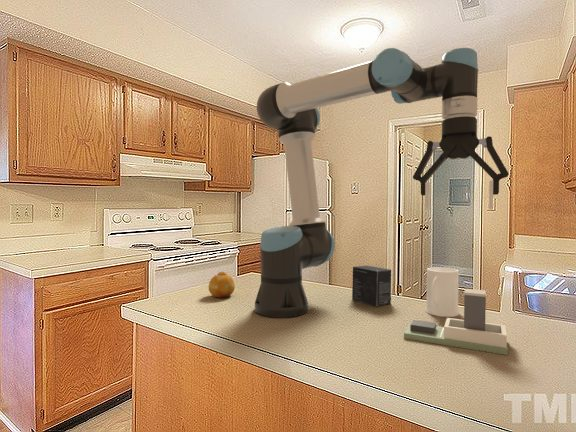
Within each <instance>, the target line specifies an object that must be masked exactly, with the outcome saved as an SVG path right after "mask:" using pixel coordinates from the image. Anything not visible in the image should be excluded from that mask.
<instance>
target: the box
mask: <svg viewBox="0 0 576 432" xmlns="http://www.w3.org/2000/svg"><path fill="white" fill-rule="evenodd" d="M351 293H352V294H351V297H352V300H353V301H357V302H360V303H363V304H367V305H371V306H374V307H380V306H381V307H382V306H384V305H389V304H391V303H392V299H391V297H392V269H390V268H383V267H377V266H371V265H358V266H353V267H352V292H351Z"/></svg>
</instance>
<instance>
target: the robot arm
mask: <svg viewBox="0 0 576 432" xmlns="http://www.w3.org/2000/svg"><path fill="white" fill-rule="evenodd" d="M478 75H479V65H478V53H477V51H476V50H475V49H474V48H471V47H458V48H453V49H451V50H450V51H449V50H448V51H446V53H444V54H443V56H442V60H441V63H439V64H435V65H433V66H427V67H422V66H420V64H418V63H417V62H415V60H413V59H412V58H411V57H410V55H409V54H408V53H406V52H405V51H402V50H400V49H398V48H395V47H389V48H388V47H387V48H385V49H383V50H381V51H380V52H379V53H378V54H377V55H376V56H375V57H374V59H373V60H370V61H366V62H364V63H359V64H356V65H352V66H350V67H347V68H343V69H339V70H336V71H332V72H330V73H325V74H323V75H322V74H321V75H319V76H315V77H311V78H307V79H305V80H302V81H301V80H300V81H298V82H295V83H291V84H290V83H289V82H285V81H283V82H280V83H277V84H274V85H271V86H269V87H268V88H265V89H264V90H263V91H262V92H261V93H260V95H259V96H258V98H257V102H256V112H257V116H258V118H259V120H260V121H261V122H262V123H263V124H264V125H265V126H267V127H268V128H271V129H274V130H277V133H278V141H279V142H280V143H281V144H283V146H284V154H285V162H286V164H285V165H286V172H287V181H288V190H289V199H290V209H291V215H292V216H291V217H292V220H291V222H290V223H289V224H288V225H283V226H276V227H271V228H267V229H265V230H264V231H263V232H262V233H261V236H260V244H259V247H260V249H259V250H260V285H259V289H258V291H257V294H256V297H255V301H254V312H255V313H256V314H258V315H261V316H263V317H269V318H279V319H280V318H292V317H293V318H294V317H300V316H302V315H304V314H307V312H308V311H309V301H308V297H307V294H306V291H305V288H304V285H303V270H304V269H308V268H311V267H313V268H314V267H319V266H321V265H323V264H325V263H327V262H328V261H330V259H331V258H332V257H333V255H334V252H335V248H336V246H335V245H336V243H335V238H334V236H333V233H331V232H330V231H329V230H328V229H327V224H326V220H324V218H322V217H321V215H320V207H319V199H318V190H317V189H318V187H317V182H316V172H315V171H316V170H315V163H314V154H313V147H312V141H313V140H314V139H315V137H316V131H317V129H318V126H319V125H320V120H321V114H320V110H319V108H322V107H326V106H327V107H328V106H331V105H336V104H340V103H344V102H348V101H352V100H357V99H361V98H365V97H370V96H373V95H378V94H382V93H383V94H384V93H387V92H390V94H391V97H392V99H393V101H394V102H395V103H396V104H400V105H401V104H411V103H416V102H421V101H425V100H430V99H436V98H437V99H438V98H441V104H442V105H441V118H442V121H441V139H440V141H432V140H428V141H427V145H426V150H425V153H424V155H423V157H422V158H421V160H420V162H419V164H418V166H417V168H416V170H415V172H414V174H413V175H412V179H413V180H414V181H417V182H420V195H421V196H424V197H425V198H424V209H425V210H430V209H431V182H429V180H430V178H431V177H432V176H433V175H434V174H435V172H436V171H437V170H439V168H440V167H441V166H442V165H443V164H444V162H446V160H447V159H450V160H457V159H468V158H469V157H471V159H473V161H475V162H476V163H477V165H479V166H480V167H481V169H482V170H483V171H484V172H485V173H486V174H487V175H488V176H489V177H490V178H491V179H492V180H489V181H488V185H489V186H488V188H489V189H488V210H494V209H493V208H494V195H495V196H497V195H499V193H500V180H502V179H504V178H507V177H508V176H510V173H509V171H508V170H507V168H506V166H505V165H504V163H503V161H502V160H501V157H500V156H499V154H498V152H497V151H496V149H495V147H494V145H493V143H494V142H493V138H492V137H493V136H487V137H484V138H479V137H478V119H477V118H476V117H477V115H478V81H479V79H478V78H479V76H478ZM479 145H481V146H482V147H483V148H485V149H486V150H487V152H488V154H489V156H490V158H491V159H492V160H493V162H494V164H495V166H496V168H497V170H498V172H499V173H497V172H496V171H495V170H494V169H493V168H492V167H491V166H490V165H489V164H488V163H487V162H486V161H485V160H484V159H483V158H482V157H481V156H480V155H479V154H478V153H477V152H476V149H477V148H478V146H479ZM438 148H440V149H441V151H442V153H441V154H440V155H439V156H438V158H437V159H436V161H435V162H434V163H433V164H431V166H430V167H429V168H428V170H427V171H426V172H425V173H424V170H425V168H426V167H427V165H428V162H429V161H430V159H431V157H432V155H433V153H434V152H436V150H437V149H438ZM423 173H424V174H423ZM422 174H423V175H422Z"/></svg>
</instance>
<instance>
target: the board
mask: <svg viewBox="0 0 576 432" xmlns="http://www.w3.org/2000/svg"><path fill="white" fill-rule="evenodd" d="M403 339H407V340H412V341H419V342H425V343H430V344H431V343H432V344H436V345H443V346H450V347H456V348H462V349H467V350H468V349H469V350H473V351H479V350H480V352H485V351H486V352H485V353H491V352H492V354H499V355H506V356H508V355H509V353H508V352H509V350H508V349H509V348H508V345H507V346H506V348H504V347H498V346H492V345H485V344H479V343H472V342H466V341H459V340H453V339H446V338H444V326H439V325H437V323H436V322H433V321H431V322H430V321H427V320H425V321H424V320H419V319H412V321H411V322H410V323H409V324H408V326H407V328H406V329H405V330H404V333H403Z"/></svg>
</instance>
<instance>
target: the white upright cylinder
mask: <svg viewBox="0 0 576 432" xmlns="http://www.w3.org/2000/svg"><path fill="white" fill-rule="evenodd" d="M459 271H460V270H459V269H457V268H453V267H447V266H445V267H444V266H431V267H428V268H426V306H425V312H426V313H427V314H429V315H432V316H435V317H442V318H443V317H444V318H454V317H458V316H459V315H460V311H459V275H460V274H459V273H460V272H459Z"/></svg>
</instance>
